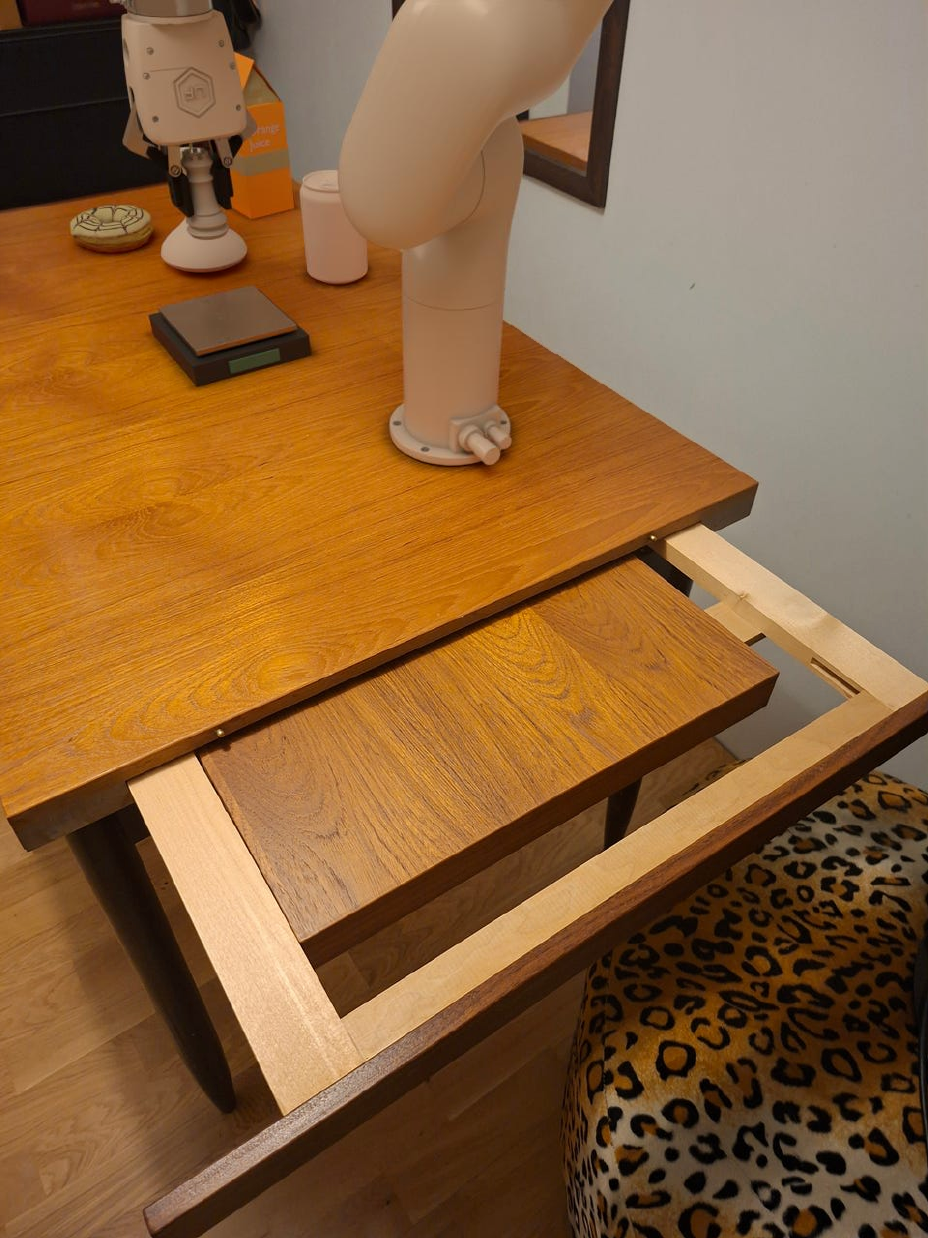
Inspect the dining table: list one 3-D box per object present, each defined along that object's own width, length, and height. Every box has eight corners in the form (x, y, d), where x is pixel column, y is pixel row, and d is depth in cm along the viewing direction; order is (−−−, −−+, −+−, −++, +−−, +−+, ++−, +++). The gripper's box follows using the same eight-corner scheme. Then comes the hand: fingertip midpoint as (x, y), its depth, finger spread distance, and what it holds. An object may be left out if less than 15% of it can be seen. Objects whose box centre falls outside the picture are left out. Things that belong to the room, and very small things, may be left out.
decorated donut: (94, 224, 126) (87, 197, 124) (165, 229, 126) (160, 202, 123) (63, 253, 119) (54, 224, 116) (139, 258, 118) (132, 230, 116)
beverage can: (372, 263, 120) (368, 170, 111) (362, 289, 114) (357, 193, 105) (315, 259, 120) (306, 166, 112) (301, 284, 114) (291, 188, 106)
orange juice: (265, 191, 138) (246, 43, 123) (295, 208, 133) (279, 56, 119) (221, 201, 134) (196, 50, 120) (250, 219, 129) (228, 64, 115)
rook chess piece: (233, 224, 94) (220, 144, 88) (226, 241, 91) (213, 159, 85) (191, 224, 94) (176, 143, 88) (183, 240, 91) (167, 158, 85)
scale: (312, 355, 101) (310, 335, 99) (197, 387, 95) (193, 367, 94) (261, 307, 109) (258, 288, 108) (152, 334, 104) (148, 314, 102)
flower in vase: (187, 288, 113) (143, 65, 95) (148, 258, 119) (100, 44, 101) (275, 264, 119) (249, 50, 101) (234, 237, 125) (202, 31, 107)
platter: (297, 330, 99) (296, 324, 99) (197, 356, 95) (196, 350, 94) (254, 290, 106) (253, 284, 106) (158, 312, 101) (157, 307, 101)
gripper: (88, 12, 72) (139, 237, 85) (271, -4, 79) (292, 206, 92) (61, -5, 76) (114, 211, 89) (237, -19, 83) (262, 184, 96)
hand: (204, 207), depth 91 cm, fingers closed on rook chess piece, 3 cm apart
